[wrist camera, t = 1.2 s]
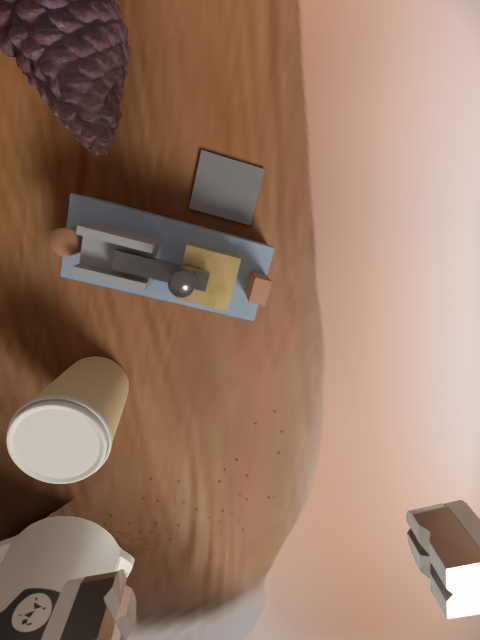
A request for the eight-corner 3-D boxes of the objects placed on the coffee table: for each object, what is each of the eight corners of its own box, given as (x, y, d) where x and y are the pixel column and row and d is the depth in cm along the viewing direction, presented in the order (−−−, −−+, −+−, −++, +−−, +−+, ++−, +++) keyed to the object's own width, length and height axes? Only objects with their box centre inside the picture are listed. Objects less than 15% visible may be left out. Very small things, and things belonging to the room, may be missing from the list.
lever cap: (225, 300, 35) (227, 311, 32) (178, 289, 35) (174, 298, 31) (238, 254, 34) (241, 258, 30) (189, 241, 33) (186, 244, 30)
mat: (249, 225, 38) (250, 225, 38) (189, 208, 37) (188, 208, 37) (264, 169, 37) (265, 169, 36) (201, 150, 35) (201, 149, 35)
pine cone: (157, 158, 35) (137, 138, 26) (62, 170, 35) (6, 154, 26) (118, -59, 30) (74, -185, 20) (4, -48, 30) (-94, -171, 20)
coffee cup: (46, 362, 41) (-18, 419, 30) (118, 340, 41) (83, 388, 30) (78, 424, 44) (32, 498, 33) (147, 403, 44) (124, 470, 32)
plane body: (248, 308, 41) (261, 340, 31) (79, 268, 38) (30, 288, 28) (267, 244, 39) (287, 254, 29) (89, 195, 36) (39, 188, 26)
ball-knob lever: (205, 290, 30) (204, 303, 26) (114, 269, 29) (97, 278, 25) (210, 269, 30) (210, 278, 26) (118, 246, 29) (102, 251, 24)
